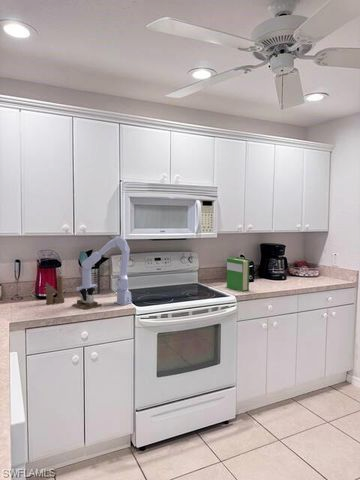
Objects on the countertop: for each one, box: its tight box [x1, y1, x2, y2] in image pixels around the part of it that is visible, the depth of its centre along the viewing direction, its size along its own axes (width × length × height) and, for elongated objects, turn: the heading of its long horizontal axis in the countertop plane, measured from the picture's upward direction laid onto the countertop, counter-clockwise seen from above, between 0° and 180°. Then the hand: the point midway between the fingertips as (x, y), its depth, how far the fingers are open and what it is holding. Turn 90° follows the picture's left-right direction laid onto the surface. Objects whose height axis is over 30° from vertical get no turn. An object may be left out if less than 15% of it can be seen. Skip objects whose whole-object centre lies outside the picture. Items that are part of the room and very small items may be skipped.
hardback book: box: [226, 257, 250, 293], centre depth 276 cm, size 18×7×24 cm, turn 34°
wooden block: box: [45, 274, 65, 306], centre depth 228 cm, size 4×11×18 cm, turn 124°
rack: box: [72, 299, 103, 311], centre depth 223 cm, size 14×12×3 cm
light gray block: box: [80, 293, 95, 303], centre depth 223 cm, size 10×3×5 cm, turn 50°
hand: (87, 299), depth 223 cm, fingers closed on light gray block, 3 cm apart
